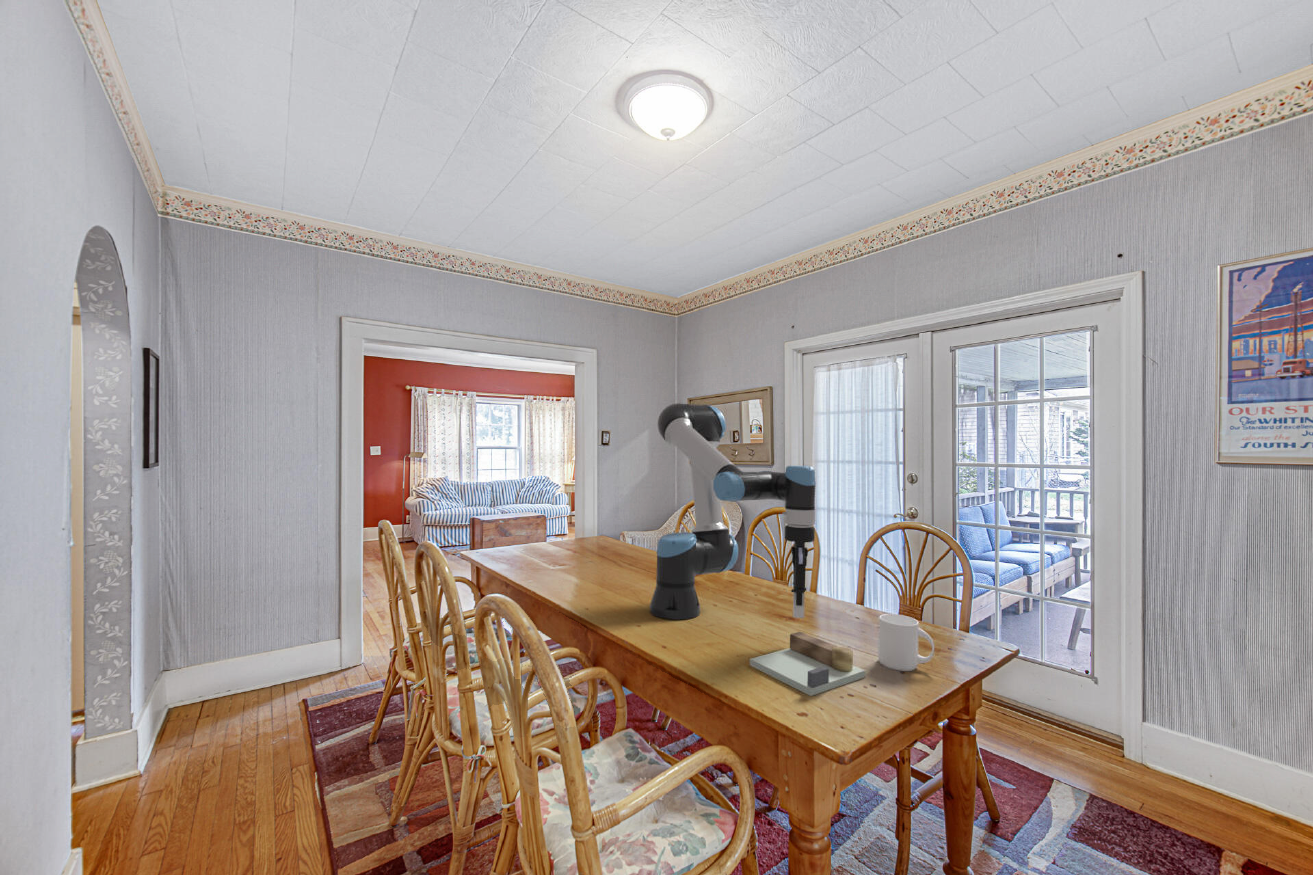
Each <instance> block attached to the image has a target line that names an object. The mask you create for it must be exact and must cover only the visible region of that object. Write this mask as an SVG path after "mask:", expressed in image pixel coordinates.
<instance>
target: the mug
mask: <svg viewBox="0 0 1313 875" xmlns="http://www.w3.org/2000/svg"><path fill="white" fill-rule="evenodd" d="M878 624H879V625H878V649H877V650H878V652H877V654H878V662H879V663H880V664H881V665H882V666H884V667H885V668H888V669H890V670H895V671H899V672H901V671H902V672H911V671H915V669H917V668H918V664H925V663H928V662H930V661H931V660H932V658H933V656H934V653H935V642H934V640H933V638H932V637H931V636H930V635H929V633H927V632H926V631H925V630H923V629H922V628H921V627H920V624H919V621H918V620H917V619H915V618H914V617H911V616H907V615H903V614H896V613H885V614H881V615H880V616H879V618H878ZM919 637H920V638H924V639H926V640H927V641H928V642H929V644H930V646H931V648H932V649H931V653H930V654H929V655H928V656H923V655H920V654H919Z"/></svg>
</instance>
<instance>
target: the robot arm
mask: <svg viewBox="0 0 1313 875" xmlns="http://www.w3.org/2000/svg"><path fill="white" fill-rule="evenodd" d="M726 426H727V425H726V419H725V416H724V414H723V412H721V410H720V409H719V408H717V407H715V406H714V405H713V406H712V405H707V404H692V403H689V404H688V403H672V404H670V405H668V406H666V407H665V408H664V409H663V410H662V411H661V413H660V415H659V416H658V419H657V429H658V432H659V435H660V436H661V438H662V439H663V440H664V441H665V442H666V443H667V444H668V445H670V446H673V447H676V448H677V449H678V450H679V451H680V452H681V453H682V454H683V455H684V456H685V457H687V459H688V460H690V469H691V480H692V481H691V482H692V491H693V492H692V493H693V495H692V496H693V505H694V516H695V517H694V518H695V526H694V528H692V531H691V532H686V531H683V532H682V531H681V532H671V533H667V534H664V535H661V537H659V539H658V540H657V548H656V582H655V583H656V584H655V585H656V586H655V589H654V591H653V594H652V598H651V601H650V604H649V613H650V614H651V615H653V616H654V617H657V618H660V619H665V620H679V621H680V620H689V619H694V618H696V617H698V616H700V613H701V605H700V602H699V598H698V595H697V590H696V586H695V583H696V582H695V581H696V576H700V575H707V574H720V573H723V572H727V571H729V570H731V569H732V568H734V565H735V564H736V563H737V560H738V557H739V545H738V542H737V540H735V539H736V538H735V537H734V536H733V535H732V534H731V533H730V531H729V527H728V526H726V525H725V524H724V520H723V509H722V501H724V502H732V503H733V502H743V501H760V500H761V501H762V500H763V501H764V500H766V501H767V500H768V501H769V500H774V501H775V500H776V501H784V508H785V509H784V510H785V511H783V512H782V516H784V518H785V519H784V520H785V521H784V523H785V524H786V525H785V526H784V539H785V541H787V542H794V544H793V546H791V547H790V552H791V562H792V568H793V571H792V572H793V573H792V574H793V576H792V578H793V579H792V580H793V582H792V585H793V587H792V589H791V590H790V592H791V593H793V594H792V595H793V596H792V600H793V602H792V604H793V605H792V618H796V619H798V618H799V619H805V592H806V591H807V587H806V567H807V566H808V565H807V564H808V563H807V561H808V560H807V559H808V558H807V557H808V553H809V551H808V547H806V543H813V542H814V541H815V538H816V537H815V536H816V535H815V534H816V533H815V532H816V530H815V527H814V526H815V524H816V508H815V507H816V506H815V504H816V502H815V501H816V499H815V498H816V484H817V481H816V472H815V469H814V467H813V466H809V465H787V466H786V467H785V471H784V472H778V471H772V470H771V471H770V470H763V471H742V470H741V469H740V468H739V467H738V466H737V465H735V464H734V463H733V462H731V461H730V460H729V459H728V458H727V457H726V455H724V454H723V453H722V452H721V451H719V450H718V449H717V448H718V447H719V446H720V444H721V439H722V438H723V437H724V435H725V433H724V432H726V429H727V428H726Z"/></svg>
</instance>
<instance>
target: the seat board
mask: <svg viewBox="0 0 1313 875" xmlns="http://www.w3.org/2000/svg"><path fill="white" fill-rule="evenodd" d="M749 666H750V667H752V668H754V669H757V670H758V671H759V672H760V671H761V672H762V673H764V674H766V675H768V676H770V677H772V678H774V679H776V680H778V681H780V682H782V683H784V684H786V685H788V686H790V687H792V688H794V689H796V690H798V691H800V692H802V693H803V694H806V695H808V696H810V697H813V696H816V695H819V694H822V693H824V692H826V691H829V690H832V689H835V688H838V687H840V686H843V685H847V684H850V683H852V682H855V681H858V680H861V679H864V678H866V670H865V669H862V668H861V667H858V666H855V665H853V668H852V670H851V671H839V670H836V669H834V668H833V667H832V666H829V665H827V664H825V663H822V662H820V661H818V660H815V659H813V658H811V657H808V656H806V655H804V654H802V653H799V652H797V651H795V650H792V649H790V647H789V648H785V649H780V650H778V651H775V652H770V653H767V654H763V655H759V656H756V657H751V658H749ZM823 666H824V667H826V668H829V683H827V684H824V685H821V686H818V687H815V688H811V687H809V686H807V681H808V671H810V670H813V669H816V668H820V667H823Z"/></svg>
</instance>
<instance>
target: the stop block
mask: <svg viewBox="0 0 1313 875" xmlns="http://www.w3.org/2000/svg"><path fill="white" fill-rule="evenodd" d="M827 683H829V668H826V667H824V666H823V667H820V668H816V669H813V670H810V671H808V681H807V686H809V687H811V688H815V687H818V686H821V685H824V684H827Z"/></svg>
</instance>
